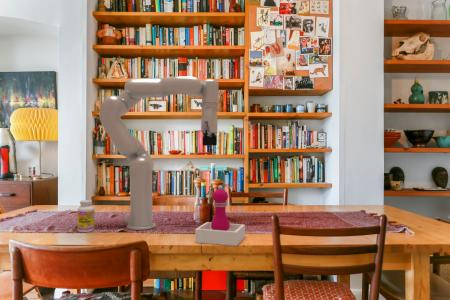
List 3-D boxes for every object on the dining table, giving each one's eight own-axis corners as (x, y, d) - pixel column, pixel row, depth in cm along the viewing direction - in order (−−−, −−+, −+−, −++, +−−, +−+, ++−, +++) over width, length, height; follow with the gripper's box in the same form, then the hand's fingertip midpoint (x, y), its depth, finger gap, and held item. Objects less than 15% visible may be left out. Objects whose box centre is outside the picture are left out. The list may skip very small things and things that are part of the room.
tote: (195, 242, 136) (195, 229, 136) (206, 234, 148) (206, 222, 148) (236, 246, 131) (236, 232, 131) (244, 237, 144) (244, 224, 144)
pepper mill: (227, 239, 136) (227, 186, 135) (209, 239, 137) (208, 186, 137) (231, 235, 143) (231, 184, 142) (213, 234, 144) (213, 184, 144)
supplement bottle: (76, 233, 150) (76, 202, 149) (79, 229, 156) (79, 199, 156) (93, 232, 151) (93, 201, 151) (95, 228, 157) (95, 199, 157)
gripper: (208, 109, 173) (208, 145, 173) (195, 105, 156) (195, 145, 156) (223, 109, 170) (223, 145, 171) (211, 105, 154) (211, 145, 154)
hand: (210, 145), depth 164 cm, fingers open, 9 cm apart
